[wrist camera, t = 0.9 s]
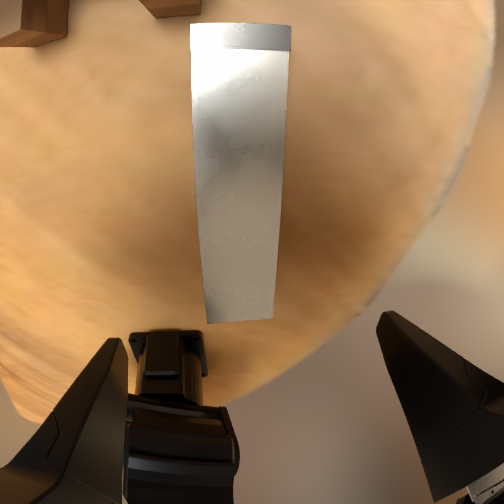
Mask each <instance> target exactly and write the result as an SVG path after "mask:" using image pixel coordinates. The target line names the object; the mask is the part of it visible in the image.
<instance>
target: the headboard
mask: <svg viewBox="0 0 504 504" xmlns="http://www.w3.org/2000/svg"><path fill="white" fill-rule="evenodd" d="M139 1H140V2H141V3H142V4H143V5H144V6H145V7H146V8H147V9H148V11H149V12H150V13H151V14H152V15H153V16H154V17H155V18H163V17H172V16H185V15H200V7H201V0H139ZM68 4H69V0H0V47H36V46H39V45H42V44H45V43H47V42H51V41H54V40H57V39H60V38H63V37H67V23H68Z"/></svg>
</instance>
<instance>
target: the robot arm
mask: <svg viewBox="0 0 504 504" xmlns="http://www.w3.org/2000/svg"><path fill="white" fill-rule="evenodd" d="M376 334H377V337H378V340H379V344H380V347H381V351H382V354H383V357H384V361H385V364H386V367H387V370H388V373H389V375H390V377H391V380H392V382H393V385H394V387H395V390H396V393H397V395H398V398H399V400H400V403H401V406H402V408H403V411H404V414H405V416H406V419H407V422H408V424H409V427H410V430H411V433H412V435H413V438H414V441H415V444H416V447H417V450H418V453H419V456H420V458H421V463H422V466H423V469H424V472H425V475H426V478H427V482H428V484H429V488H430V491H431V494H432V498H433V501H434V502H437V501H439V500H441V499H444V498H445V497H447V496H449V495H451V494H453V493H455V492H457V491H459V490H461V489H462V488H464V487H467V490H468V493H467V494H465V495H464V496H462V497H460V498H459V499H458V500H457V503H456V504H504V383H503V382H501V381H500V380H498V379H496V378H494V377H493V376H491V375H489V374H488V373H486V372H484V371H483V370H481V369H479V368H478V367H476V366H475V365H473V364H472V363H470V362H469V361H467V360H466V359H464V358H463V357H462V356H460V355H458V354H457V353H456V352H454V351H453V350H451V349H450V348H448V347H447V346H445V345H444V344H443V343H441V342H439V341H438V340H437V339H435V338H434V337H432V336H431V335H429V334H428V333H426V332H425V331H423V330H422V329H420V328H419V327H417V326H416V325H414V324H413V323H411V322H410V321H408V320H407V319H405V318H403V317H402V316H401V315H399V314H398V313H396V312H395V311H386V312H383V313H382V315H381V317H380V319H379V322H378V325H377V327H376ZM129 343H130V346H131V348H132V351H133V353H134V356H135V358H136V361H137V363H138V370H137V379H136V388H135V395H134V394H130V393H128V355H127V352H126V349H125V347H124V345H123V342H122V340H121V339H120V338H108V339H107V340H106V341H105V343H104V344H103V345H102V346H101V348H100V349H99V350H98V351H97V353H96V354H95V355H94V356H93V358H92V359H91V360H90V362H89V363H88V364H87V365H86V367H85V368H84V369H83V371H82V372H81V373H80V374H79V376H78V377H77V378H76V380H75V381H74V382H73V384H72V385H71V386H70V388H69V389H68V390H67V392H66V393H65V394H64V396H63V397H62V398H61V400H60V401H59V402H58V404H57V405H56V406H55V408H54V409H53V411H52V412H51V413H50V414H49V416H48V417H47V419H46V420H45V421H44V422H43V424H42V425H41V426H40V428H39V429H38V430H37V431H36V433H35V434H34V435H33V436H32V437H31V439H30V440H29V441H28V442H27V443H26V444H25V446H23V448H22V449H21V450H20V451H19V452H18V453H17V454H16V456H15V457H14V458H13V459H12V460H11V461H10V462H9V463H8V464H7V465H5V466H4V467H2V468H0V504H122V492H123V495H124V498H125V499H126V501H127V503H128V504H234V502H233V481H234V476H235V475H236V473H237V471H238V467H239V461H240V451H239V445H238V441H237V438H236V435H235V433H234V429H233V427H232V423H231V421H230V417H229V414H228V411H227V408H226V407H221V406H219V407H211V406H203V395H202V377H206V376H207V375H208V372H207V365H206V359H205V352H204V345H203V338H202V334H201V333H200V332H198V331H191V332H171V333H140V334H130V335H129Z"/></svg>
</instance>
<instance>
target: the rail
mask: <svg viewBox="0 0 504 504" xmlns="http://www.w3.org/2000/svg"><path fill="white" fill-rule="evenodd" d="M190 51H191V71H192V122H193V149H194V170H195V188H196V204H197V218H198V232H199V244H200V256H201V267H202V278H203V288H204V298H205V307H206V316H207V324H210V323H224V322H237V321H249V320H260V319H270V318H273V306H274V295H275V282H276V270H277V257H278V244H279V230H280V216H281V201H282V185H283V169H284V151H285V132H286V112H287V88H288V62H289V52H290V51H291V26H287V25H275V24H259V23H199V24H190Z"/></svg>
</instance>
